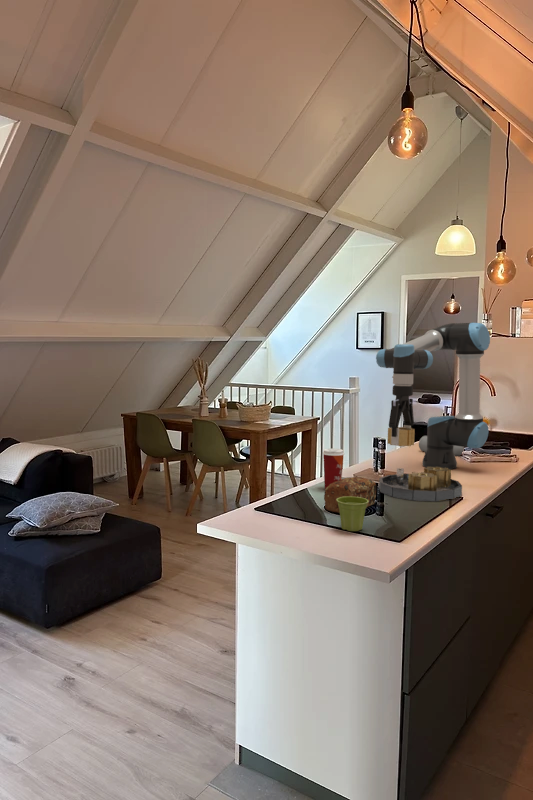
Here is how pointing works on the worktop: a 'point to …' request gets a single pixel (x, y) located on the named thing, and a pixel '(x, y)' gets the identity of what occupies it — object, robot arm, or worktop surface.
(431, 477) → the seated gear
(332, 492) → the bread
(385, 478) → the tray
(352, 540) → the worktop surface
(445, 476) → the seated gear
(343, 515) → the plant pot
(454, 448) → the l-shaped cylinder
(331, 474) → the coffee cup
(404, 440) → the planet gear
